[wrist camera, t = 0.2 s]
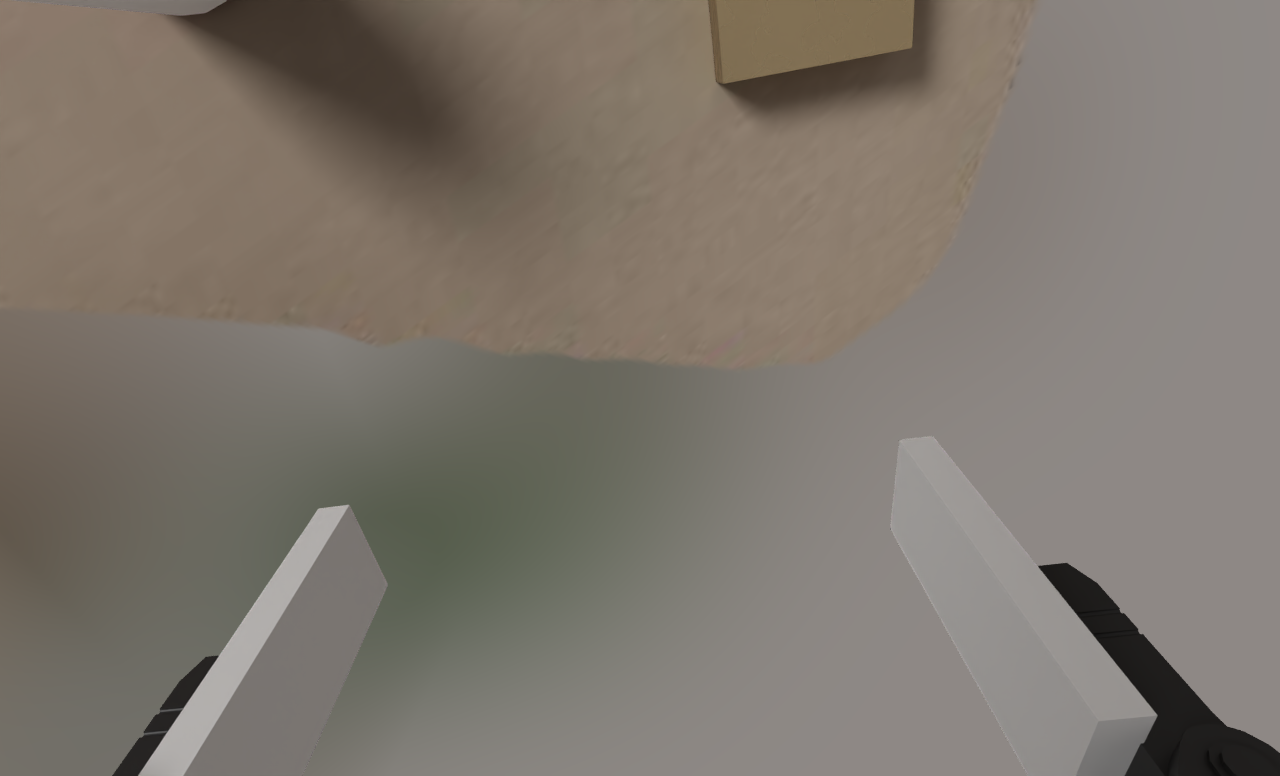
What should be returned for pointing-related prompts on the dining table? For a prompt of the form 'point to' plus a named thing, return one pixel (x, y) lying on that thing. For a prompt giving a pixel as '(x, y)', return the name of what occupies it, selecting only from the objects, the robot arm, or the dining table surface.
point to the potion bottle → (143, 5)
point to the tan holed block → (803, 33)
